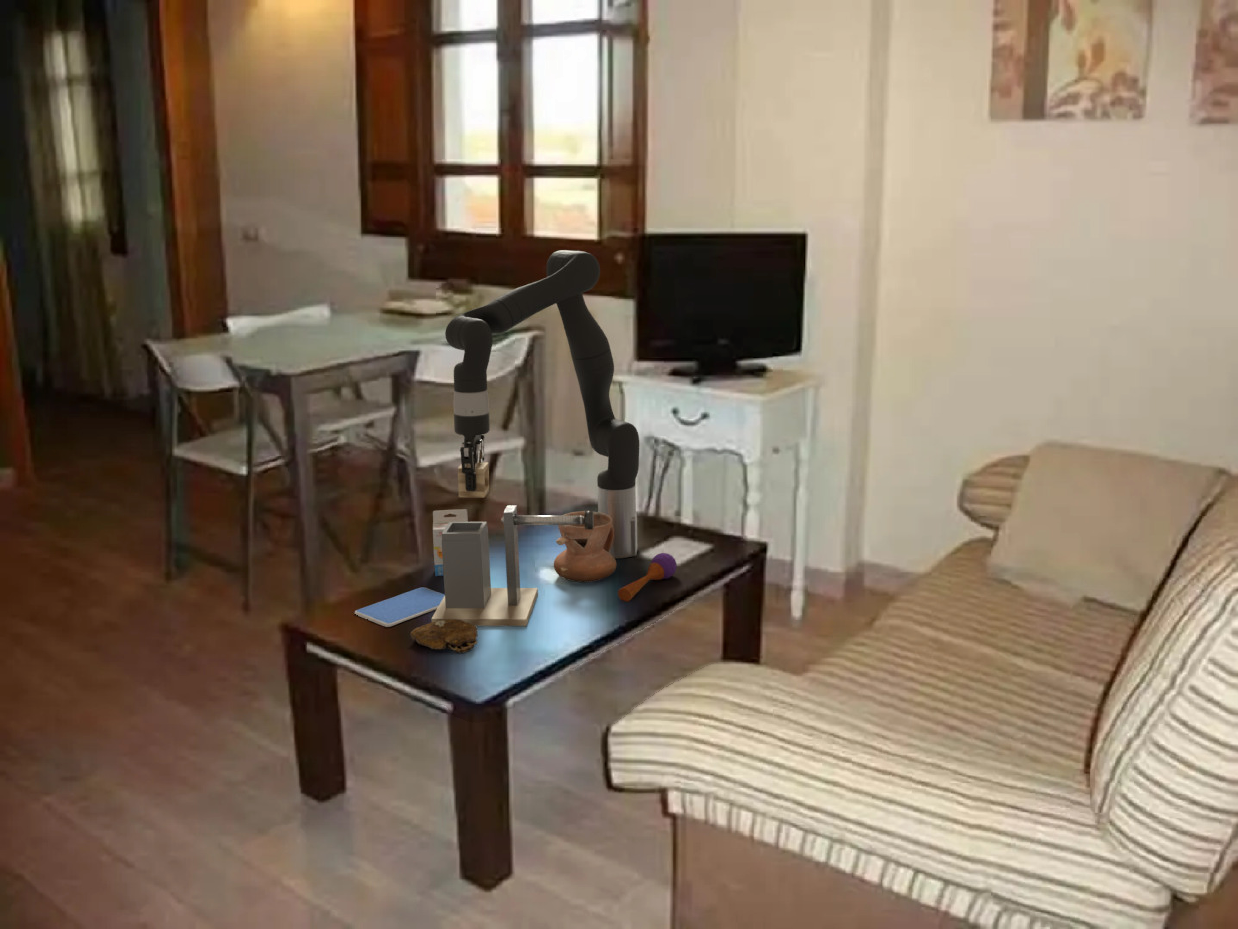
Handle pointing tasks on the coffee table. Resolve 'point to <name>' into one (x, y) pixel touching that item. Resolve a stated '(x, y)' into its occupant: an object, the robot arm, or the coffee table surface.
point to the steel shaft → (555, 520)
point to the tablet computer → (402, 607)
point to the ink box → (438, 528)
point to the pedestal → (466, 565)
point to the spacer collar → (481, 481)
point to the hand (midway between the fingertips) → (474, 486)
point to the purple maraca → (650, 575)
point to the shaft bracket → (512, 556)
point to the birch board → (493, 610)
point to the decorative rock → (446, 635)
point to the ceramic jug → (586, 550)
